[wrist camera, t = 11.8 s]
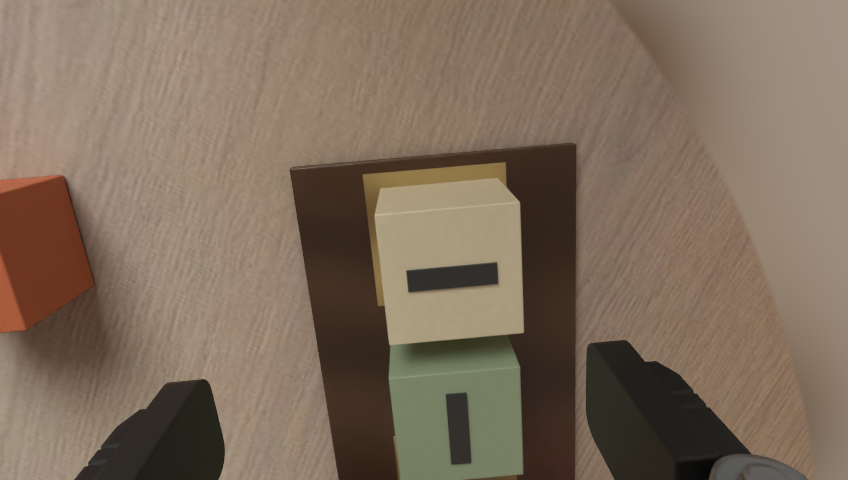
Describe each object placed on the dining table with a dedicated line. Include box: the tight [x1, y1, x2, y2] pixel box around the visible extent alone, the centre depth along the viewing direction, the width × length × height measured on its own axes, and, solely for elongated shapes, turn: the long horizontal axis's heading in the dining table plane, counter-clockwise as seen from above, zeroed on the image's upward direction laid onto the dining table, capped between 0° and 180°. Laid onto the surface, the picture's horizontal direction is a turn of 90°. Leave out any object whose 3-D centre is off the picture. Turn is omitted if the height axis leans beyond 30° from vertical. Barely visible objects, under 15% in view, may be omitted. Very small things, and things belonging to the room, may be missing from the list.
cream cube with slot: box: [374, 178, 524, 345], centre depth 21 cm, size 5×5×5 cm
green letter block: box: [389, 335, 523, 480], centre depth 23 cm, size 5×5×5 cm
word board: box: [290, 143, 576, 480], centre depth 25 cm, size 20×12×1 cm, turn 5°
